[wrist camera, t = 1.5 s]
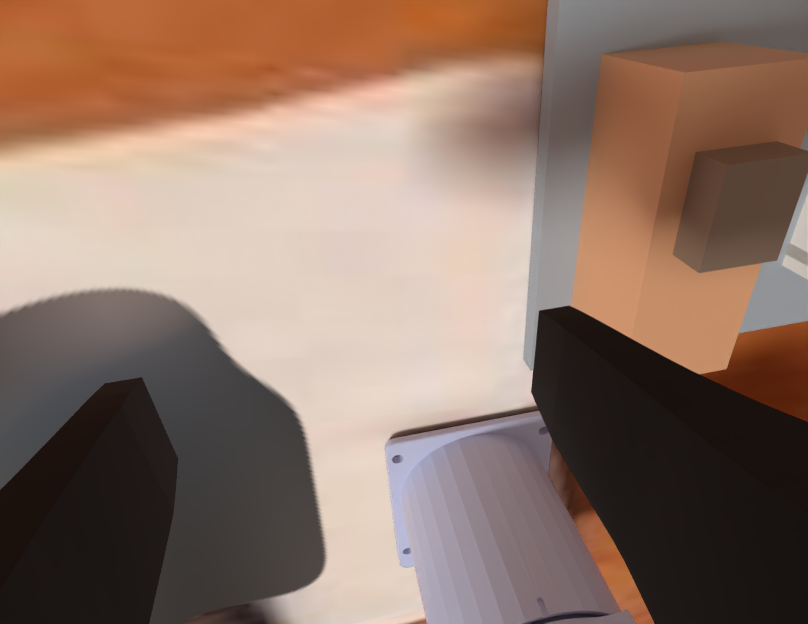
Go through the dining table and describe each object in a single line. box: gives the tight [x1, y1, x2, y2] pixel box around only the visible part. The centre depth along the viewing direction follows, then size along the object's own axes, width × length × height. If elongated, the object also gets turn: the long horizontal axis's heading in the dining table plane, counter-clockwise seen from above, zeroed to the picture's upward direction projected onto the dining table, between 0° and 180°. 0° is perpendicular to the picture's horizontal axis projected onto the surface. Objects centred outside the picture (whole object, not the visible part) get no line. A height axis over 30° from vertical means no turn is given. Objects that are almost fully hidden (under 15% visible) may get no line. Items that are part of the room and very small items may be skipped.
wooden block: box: [571, 42, 808, 374], centre depth 17 cm, size 10×4×5 cm, turn 4°
